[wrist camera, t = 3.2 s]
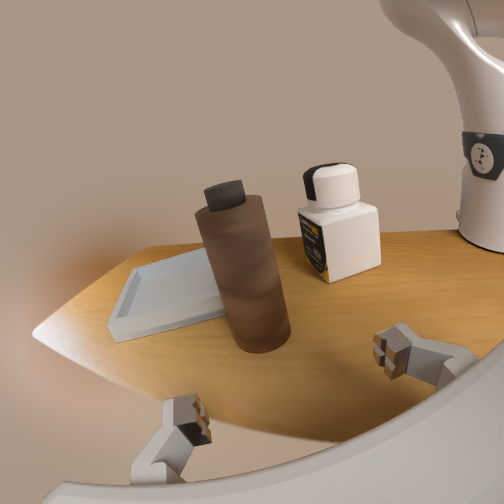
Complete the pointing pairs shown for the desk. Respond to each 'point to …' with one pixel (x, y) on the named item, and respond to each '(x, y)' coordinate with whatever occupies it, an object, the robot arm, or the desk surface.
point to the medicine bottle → (338, 223)
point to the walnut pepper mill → (244, 266)
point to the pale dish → (166, 297)
